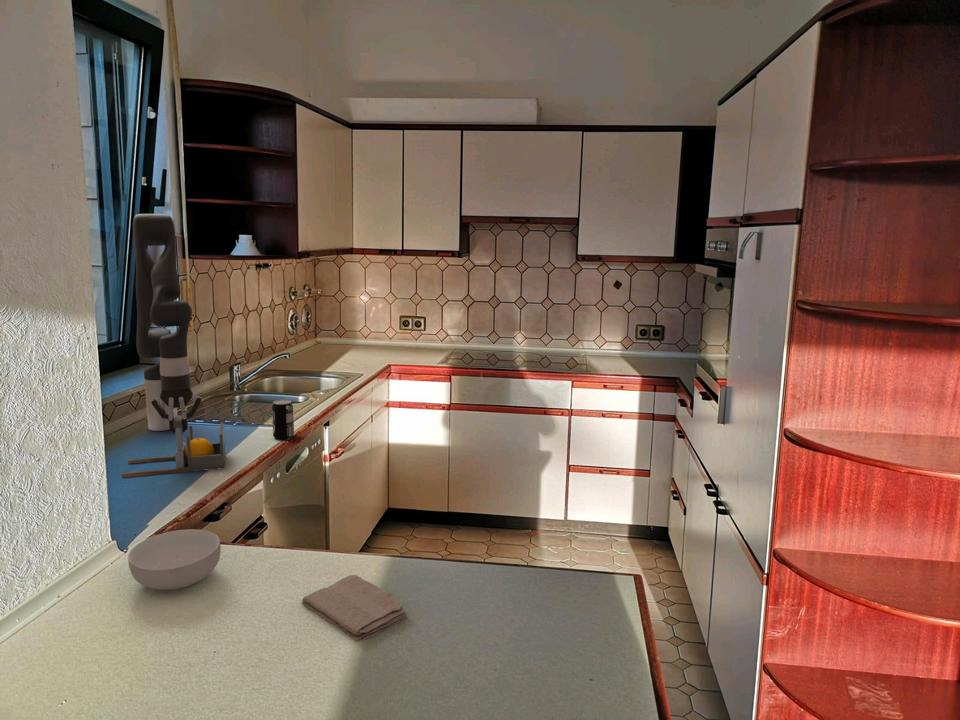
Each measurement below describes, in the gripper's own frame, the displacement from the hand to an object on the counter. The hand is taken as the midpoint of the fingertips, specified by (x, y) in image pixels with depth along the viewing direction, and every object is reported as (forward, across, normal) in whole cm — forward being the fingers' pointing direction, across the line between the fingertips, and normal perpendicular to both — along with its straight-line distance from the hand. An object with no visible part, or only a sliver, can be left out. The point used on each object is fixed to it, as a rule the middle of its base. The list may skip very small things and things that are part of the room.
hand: (178, 431), depth 203 cm
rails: (+10, +6, 0) cm, 12 cm away
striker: (+10, 0, 0) cm, 10 cm away
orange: (+10, -5, 0) cm, 11 cm away
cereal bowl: (+10, -4, +70) cm, 71 cm away
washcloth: (+10, -36, +91) cm, 99 cm away
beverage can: (+10, -29, -19) cm, 36 cm away
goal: (+10, -7, 0) cm, 12 cm away
